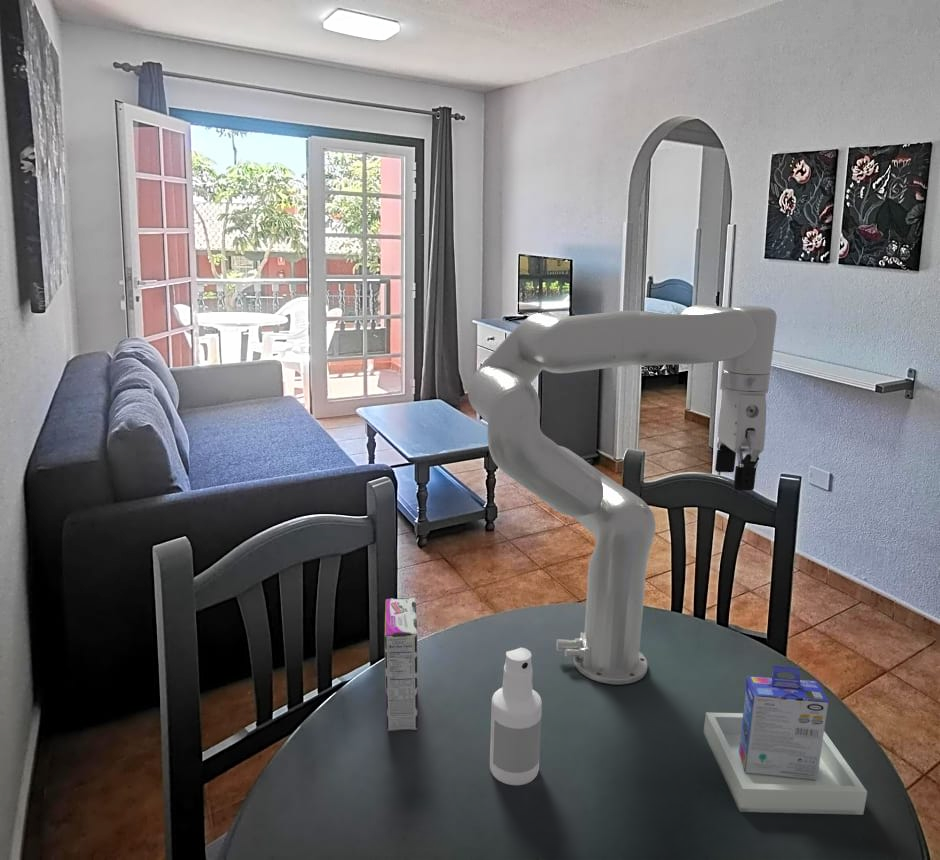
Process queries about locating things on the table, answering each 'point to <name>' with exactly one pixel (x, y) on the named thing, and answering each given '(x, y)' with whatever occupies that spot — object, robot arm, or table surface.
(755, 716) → the ink cartridge box
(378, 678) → the table surface
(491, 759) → the spray bottle
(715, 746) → the tray
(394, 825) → the table surface
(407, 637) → the candy bar box
